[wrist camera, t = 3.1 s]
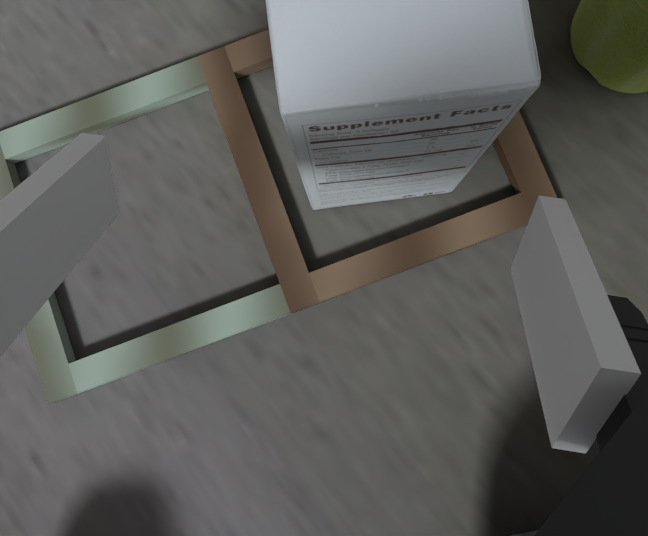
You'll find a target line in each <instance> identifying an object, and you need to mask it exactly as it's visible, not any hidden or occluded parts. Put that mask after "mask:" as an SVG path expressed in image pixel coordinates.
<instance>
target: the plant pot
mask: <svg viewBox="0 0 648 536" xmlns="http://www.w3.org/2000/svg"><path fill="white" fill-rule="evenodd" d="M570 36H571V45H572V50H573V53H574V55H575V58H576V60H577V61H578V63H579V64H580V65H582V66H583V67H584V68H585V69H586V70H588V71H589V73H590V74H591V75H592V76H593V77H594V78H595V79H596V80H597V81H598V83H599V84H601V85H602V86H604V87H607V88H609V89H612V90H615V91H618V92H624V93H643V92H648V0H581V1H580V3H579V5H578V8H577V10H576V12H575V14H574V17H573V20H572V24H571V31H570Z"/></svg>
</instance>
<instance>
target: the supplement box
mask: <svg viewBox="0 0 648 536" xmlns="http://www.w3.org/2000/svg"><path fill="white" fill-rule="evenodd" d="M266 8H267V17H268V26H269V34H270V42H271V50H272V58H273V66H274V74H275V81H276V88H277V95H278V102H279V108H280V113H281V116H282V119H283V122H284V125H285V128H286V131H287V134H288V137H289V140H290V143H291V146H292V150H293V153H294V156H295V160H296V163H297V166H298V169H299V172H300V175H301V178H302V181H303V184H304V187H305V190H306V193H307V196H308V198H309V201H310V204H311V207H312V209H313V210H318V209H324V208H331V207H339V206H346V205H354V204H362V203H370V202H378V201H386V200H394V199H402V198H410V197H417V196H425V195H433V194H441V193H448V192H452V191H453V190H454V189H455V188H456V186H457V185H458V184H459V183H460V182H461V180H462V179H463V178H464V177H465V176H466V174H467V173H468V172H469V171H470V170H471V168H472V167H473V166H474V165H475V163H476V162H477V161H478V160H479V159H480V157H481V156H482V155H483V154H484V152H485V151H486V150H487V149H488V148H489V146H490V145H491V144H492V143H493V141H494V140H495V139H496V138H497V136H498V135H499V134H500V133H501V131H502V130H503V129H504V128H505V127H506V125H507V124H508V123H509V122H510V121H511V119H512V118H513V117H514V116H515V114H516V113H517V112H518V111H519V110H520V108H521V107H522V106H523V105H524V104H525V102H526V101H527V100H528V99H529V98H530V96H531V95H532V94H533V93H534V92H535V91H536V90H537V89H538V88H539V86H540V83H541V71H540V66H539V60H538V54H537V48H536V43H535V38H534V33H533V27H532V21H531V15H530V9H529V3H528V0H266Z"/></svg>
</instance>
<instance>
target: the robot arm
mask: <svg viewBox="0 0 648 536" xmlns="http://www.w3.org/2000/svg"><path fill="white" fill-rule="evenodd" d="M119 213H120V208H119V203H118V198H117V192H116V187H115V182H114V177H113V171H112V166H111V161H110V156H109V150H108V145H107V140H106V136H102V135H95V134H87V133H81V134H80V135H78V136H77V137H76V138H75V139H74V140H72V141H71V142H70V143H69V144H68V145H66V146H65V147H64V148H63V149H62V150H60V151H59V152H58V153H57V154H56V155H54V156H53V157H52V158H51V159H50V160H48V161H47V162H46V163H45V164H44V165H42V166H41V167H40V168H39V169H38V170H36V171H35V172H34V173H33V174H31V175H30V176H29V177H28V178H27V179H25V180H24V181H23V182H22V183H21V184H19V185H18V186H17V187H16V188H15V189H13V190H12V191H11V192H10V193H9V194H7V195H6V196H5V197H4V198H3V199H1V200H0V357H1V355H2V354H3V353H4V352H5V351H6V349H7V348H8V347H9V346H10V345H11V343H12V342H13V341H14V340H15V339H16V337H17V336H18V335H19V334H20V333H21V331H22V330H23V329H24V328H25V326H26V325H27V324H28V323H29V322H30V320H31V319H32V318H33V317H34V316H35V314H36V313H37V312H38V311H39V310H40V308H41V307H42V306H43V305H44V304H45V302H46V301H47V300H48V299H49V297H50V296H51V295H52V294H53V293H54V291H55V290H56V289H57V288H58V287H59V285H60V284H61V283H62V282H63V281H64V279H65V278H66V277H67V276H68V275H69V273H70V272H71V271H72V270H73V268H74V267H75V266H76V265H77V264H78V262H79V261H80V260H81V259H82V258H83V256H84V255H85V254H86V253H87V252H88V250H89V249H90V248H91V247H92V246H93V244H94V243H95V242H96V241H97V239H98V238H99V237H100V236H101V235H102V233H103V232H104V231H105V230H106V229H107V227H108V226H109V225H110V224H111V223H112V221H113V220H114V219H115V218H116V217H117V215H118V214H119ZM511 273H512V278H513V282H514V286H515V291H516V295H517V299H518V304H519V308H520V312H521V317H522V321H523V325H524V330H525V334H526V339H527V343H528V347H529V352H530V356H531V360H532V365H533V369H534V373H535V378H536V382H537V387H538V391H539V395H540V400H541V404H542V408H543V413H544V417H545V421H546V426H547V430H548V435H549V439H550V443H551V448H555V449H561V450H567V451H573V452H579V453H585V454H586V453H587V451H588V450H589V448H590V447H591V446H592V444H593V443H594V441H595V440H596V438H597V440H598V443H599V447H600V450H601V452H600V453H599V454H598V456H597V457H596V458H595V459H594V461H593V462H592V463H591V464H590V466H589V467H588V468H587V469H586V471H585V472H584V473H583V474H582V476H581V477H580V478H579V479H578V481H577V482H576V483H575V485H574V486H573V487H572V488H571V490H570V491H569V492H568V493H567V495H566V496H565V497H564V498H563V500H562V501H561V502H560V503H559V505H558V506H557V507H556V508H555V510H554V511H553V512H552V514H551V515H550V516H549V517H548V519H547V520H546V521H545V522H544V524H543V525H542V526H541V527H540V529H539V530H538V531H537V532H536V534H535V535H534V536H648V324H647V322H646V320H645V318H644V316H643V314H642V312H640V311H639V310H638V309H637V308H636V307H635V306H634V305H633V304H632V303H631V302H630V301H629V300H628V299H627V298H624V297H617V296H610V295H607V294H606V291H605V289H604V287H603V284H602V282H601V280H600V278H599V275H598V273H597V271H596V268H595V266H594V264H593V262H592V259H591V257H590V255H589V252H588V250H587V248H586V245H585V243H584V241H583V239H582V236H581V234H580V232H579V229H578V227H577V225H576V222H575V220H574V218H573V216H572V213H571V211H570V209H569V206H568V204H567V202H566V199H561V198H554V197H546V196H538V199H537V201H536V204H535V207H534V209H533V212H532V214H531V217H530V220H529V222H528V225H527V227H526V230H525V233H524V235H523V238H522V240H521V243H520V245H519V248H518V251H517V253H516V256H515V258H514V261H513V264H512V266H511Z"/></svg>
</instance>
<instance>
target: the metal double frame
mask: <svg viewBox="0 0 648 536" xmlns="http://www.w3.org/2000/svg"><path fill="white" fill-rule="evenodd" d="M271 66H273V58H272V50H271V42H270V34H269V29H268V30H265V31H263V32H260V33H257V34H255V35H252V36H250V37H247V38H244V39H242V40H239V41H236V42H234V43H231V44H228V45H226V46H223V47H221V48H218V49H215V50H213V51H210V52H207V53H205V54H202V55H200V56H197V57H194V58H192V59H189V60H186V61H184V62H181V63H179V64H176V65H173V66H171V67H168V68H165V69H163V70H160V71H158V72H155V73H152V74H150V75H147V76H144V77H142V78H139V79H137V80H134V81H131V82H129V83H126V84H123V85H121V86H118V87H116V88H113V89H110V90H108V91H105V92H102V93H100V94H97V95H94V96H92V97H89V98H87V99H84V100H81V101H79V102H76V103H73V104H71V105H68V106H66V107H63V108H60V109H58V110H55V111H52V112H50V113H47V114H45V115H42V116H39V117H37V118H34V119H31V120H29V121H26V122H24V123H21V124H18V125H16V126H13V127H10V128H8V129H5V130H3V131H0V200H1V199H3V198H4V197H5V196H6V195H7V194H9V193H10V192H11V191H12V190H13V189H15V188H16V187H17V186H18V185H19V184H21V182H20V179H19V176H18V172H17V169H16V166H15V164H16V163H18V162H21V161H24V160H26V159H29V158H32V157H34V156H37V155H39V154H42V153H45V152H47V151H50V150H53V149H55V148H58V147H60V146H63V145H66V144H68V143H70V142H71V141H72V140H74V139H75V138H76V137H77V136H78V135H80V134H81V133H87V134H95V133H97V132H100V131H103V130H105V129H108V128H110V127H113V126H116V125H118V124H121V123H124V122H126V121H129V120H131V119H134V118H137V117H139V116H142V115H145V114H147V113H150V112H152V111H155V110H158V109H160V108H163V107H166V106H168V105H171V104H174V103H176V102H179V101H181V100H184V99H187V98H189V97H192V96H195V95H197V94H200V93H202V92H205V91H208V90H209V91H210V94H211V97H212V100H213V102H214V105H215V108H216V110H217V113H218V116H219V119H220V121H221V124H222V127H223V130H224V132H225V135H226V138H227V141H228V143H229V146H230V149H231V152H232V154H233V157H234V160H235V162H236V165H237V168H238V171H239V173H240V176H241V179H242V182H243V184H244V187H245V190H246V193H247V195H248V198H249V201H250V203H251V206H252V209H253V212H254V214H255V217H256V220H257V223H258V225H259V228H260V231H261V234H262V236H263V239H264V242H265V245H266V247H267V250H268V253H269V255H270V258H271V261H272V264H273V266H274V269H275V272H276V275H277V277H278V280H279V283H280V284H278V285H275V286H273V287H270V288H268V289H265V290H262V291H260V292H257V293H254V294H252V295H249V296H246V297H244V298H241V299H238V300H236V301H233V302H231V303H228V304H225V305H223V306H220V307H217V308H215V309H212V310H209V311H207V312H204V313H201V314H199V315H196V316H194V317H191V318H188V319H186V320H183V321H180V322H178V323H175V324H172V325H170V326H167V327H164V328H162V329H159V330H156V331H154V332H151V333H149V334H146V335H143V336H141V337H138V338H135V339H133V340H130V341H127V342H125V343H122V344H119V345H117V346H114V347H112V348H109V349H106V350H104V351H101V352H98V353H96V354H93V355H90V356H88V357H85V358H82V359H80V360H77V361H76V359H75V356H74V352H73V349H72V346H71V343H70V340H69V336H68V333H67V330H66V327H65V323H64V320H63V317H62V314H61V311H60V307H59V304H58V301H57V298H56V295H55V291H54V293H53V294H52V295H51V296H50V297H49V299H48V300H47V301H46V302H45V304H44V305H43V306H42V307H41V308H40V310H39V311H38V312H37V313H36V314H35V316H34V317H33V318H32V319H31V320H30V322H29V323H28V324H27V325H26V326H25V328H26V332H27V335H28V338H29V342H30V345H31V348H32V351H33V355H34V358H35V361H36V365H37V368H38V371H39V375H40V378H41V381H42V385H43V388H44V391H45V395H46V398H47V401H48V404H52V403H55V402H59V401H61V400H64V399H67V398H69V397H72V396H75V395H77V394H80V393H83V392H85V391H88V390H90V389H93V388H96V387H98V386H101V385H104V384H106V383H109V382H112V381H114V380H117V379H120V378H122V377H125V376H128V375H130V374H133V373H135V372H138V371H141V370H143V369H146V368H149V367H151V366H154V365H157V364H159V363H162V362H165V361H167V360H170V359H172V358H175V357H178V356H180V355H183V354H186V353H188V352H191V351H194V350H196V349H199V348H202V347H204V346H207V345H210V344H212V343H215V342H217V341H220V340H223V339H225V338H228V337H231V336H233V335H236V334H239V333H241V332H244V331H247V330H249V329H252V328H255V327H257V326H260V325H262V324H265V323H268V322H270V321H273V320H276V319H278V318H281V317H284V316H286V315H289V314H292V313H294V312H297V311H300V310H302V309H305V308H307V307H310V306H313V305H315V304H318V303H321V302H323V301H326V300H329V299H331V298H334V297H337V296H339V295H342V294H345V293H347V292H350V291H352V290H355V289H358V288H360V287H363V286H366V285H368V284H371V283H374V282H376V281H379V280H382V279H384V278H387V277H390V276H392V275H395V274H397V273H400V272H403V271H405V270H408V269H411V268H413V267H416V266H419V265H421V264H424V263H427V262H429V261H432V260H434V259H437V258H440V257H442V256H445V255H448V254H450V253H453V252H456V251H458V250H461V249H464V248H466V247H469V246H472V245H474V244H477V243H479V242H482V241H485V240H487V239H490V238H493V237H495V236H498V235H501V234H503V233H506V232H509V231H511V230H514V229H517V228H519V227H522V226H524V225H527V224H528V222H529V220H530V217H531V214H532V212H533V209H534V207H535V204H536V201H537V199H538V196H546V197H554V198H557V195H556V193H555V191H554V189H553V186H552V184H551V182H550V180H549V177H548V175H547V173H546V171H545V168H544V166H543V164H542V161H541V159H540V157H539V155H538V152H537V150H536V148H535V146H534V143H533V141H532V139H531V136H530V134H529V132H528V130H527V127H526V125H525V123H524V121H523V118H522V116H521V114H520V112H519V111H518V112H517V113H516V114H515V116H514V117H513V118H512V119H511V121H510V122H509V123H508V124H507V125H506V127H505V128H504V129H503V130H502V131H501V133H500V134H499V135H498V136H497V138H496V139H495V140H494V141H493V144H494V146H495V149H496V151H497V153H498V156H499V158H500V160H501V163H502V165H503V167H504V170H505V172H506V174H507V177H508V179H509V181H510V184H511V186H512V188H513V191H514V193H515V195H513V196H511V197H508V198H506V199H503V200H500V201H498V202H495V203H492V204H490V205H487V206H484V207H482V208H479V209H476V210H474V211H471V212H469V213H466V214H463V215H461V216H458V217H455V218H453V219H450V220H447V221H445V222H442V223H439V224H437V225H434V226H431V227H429V228H426V229H424V230H421V231H418V232H416V233H413V234H410V235H408V236H405V237H402V238H400V239H397V240H394V241H392V242H389V243H387V244H384V245H381V246H379V247H376V248H373V249H371V250H368V251H365V252H363V253H360V254H357V255H355V256H352V257H350V258H347V259H344V260H342V261H339V262H336V263H334V264H331V265H328V266H326V267H323V268H320V269H318V270H315V271H312V272H310V273H309V271H308V268H307V265H306V262H305V260H304V257H303V254H302V252H301V249H300V246H299V244H298V241H297V238H296V236H295V233H294V230H293V228H292V225H291V222H290V220H289V217H288V214H287V212H286V209H285V206H284V204H283V201H282V198H281V196H280V193H279V190H278V188H277V185H276V182H275V180H274V177H273V174H272V171H271V169H270V166H269V163H268V161H267V158H266V155H265V153H264V150H263V147H262V145H261V142H260V139H259V137H258V134H257V131H256V129H255V126H254V123H253V121H252V118H251V115H250V113H249V110H248V107H247V105H246V102H245V99H244V97H243V94H242V91H241V89H240V86H239V83H238V80H237V79H239V78H242V77H245V76H247V75H250V74H252V73H255V72H258V71H260V70H263V69H266V68H268V67H271Z"/></svg>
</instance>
